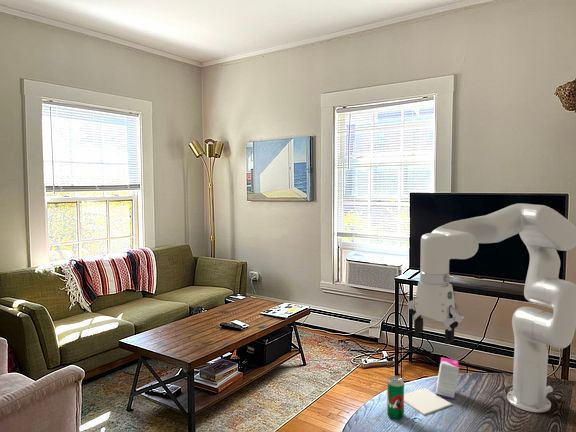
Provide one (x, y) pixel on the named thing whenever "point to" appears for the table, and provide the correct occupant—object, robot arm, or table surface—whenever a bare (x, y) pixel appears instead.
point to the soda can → (395, 398)
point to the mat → (425, 401)
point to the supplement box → (447, 378)
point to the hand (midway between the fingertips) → (433, 337)
